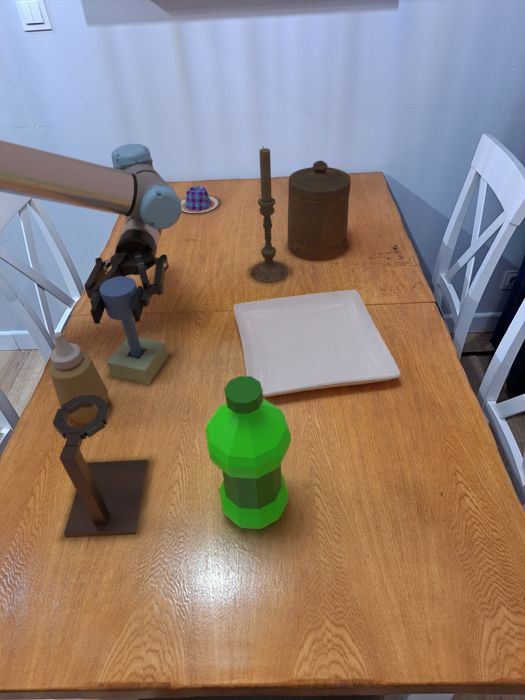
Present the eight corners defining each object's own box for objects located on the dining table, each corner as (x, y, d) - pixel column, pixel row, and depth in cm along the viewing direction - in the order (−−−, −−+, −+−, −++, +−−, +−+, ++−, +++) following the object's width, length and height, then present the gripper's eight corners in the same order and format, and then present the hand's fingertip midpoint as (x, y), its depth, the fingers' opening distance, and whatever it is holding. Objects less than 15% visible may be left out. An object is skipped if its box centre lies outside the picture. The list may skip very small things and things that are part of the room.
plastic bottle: (224, 476, 75) (205, 357, 59) (293, 481, 74) (293, 360, 58) (213, 538, 68) (187, 421, 51) (289, 544, 67) (287, 426, 50)
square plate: (251, 410, 85) (250, 395, 83) (233, 316, 106) (232, 302, 103) (400, 388, 88) (403, 373, 85) (355, 300, 108) (356, 286, 105)
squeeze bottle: (64, 434, 83) (26, 356, 71) (68, 400, 89) (33, 322, 77) (112, 425, 84) (83, 347, 72) (113, 392, 90) (86, 314, 78)
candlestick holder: (253, 263, 122) (245, 138, 102) (290, 264, 120) (289, 138, 101) (247, 283, 115) (238, 154, 95) (286, 285, 114) (284, 154, 94)
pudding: (223, 199, 150) (221, 182, 147) (211, 216, 142) (209, 199, 138) (186, 196, 153) (184, 180, 149) (172, 214, 144) (169, 197, 140)
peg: (119, 375, 93) (92, 293, 81) (135, 354, 98) (111, 274, 85) (147, 381, 92) (124, 298, 79) (161, 360, 96) (142, 278, 83)
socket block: (112, 377, 93) (106, 362, 90) (133, 350, 99) (128, 335, 96) (149, 386, 91) (145, 370, 88) (168, 358, 96) (165, 342, 94)
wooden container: (347, 234, 130) (353, 150, 116) (344, 264, 120) (351, 175, 105) (291, 232, 133) (291, 149, 118) (284, 260, 122) (282, 173, 107)
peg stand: (86, 467, 78) (51, 393, 67) (149, 463, 78) (125, 389, 66) (66, 538, 69) (21, 467, 58) (137, 535, 69) (106, 463, 57)
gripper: (188, 259, 100) (176, 331, 82) (95, 264, 100) (64, 336, 82) (182, 225, 95) (169, 294, 77) (85, 230, 95) (49, 300, 77)
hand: (115, 316), depth 80 cm, fingers closed on peg, 6 cm apart
